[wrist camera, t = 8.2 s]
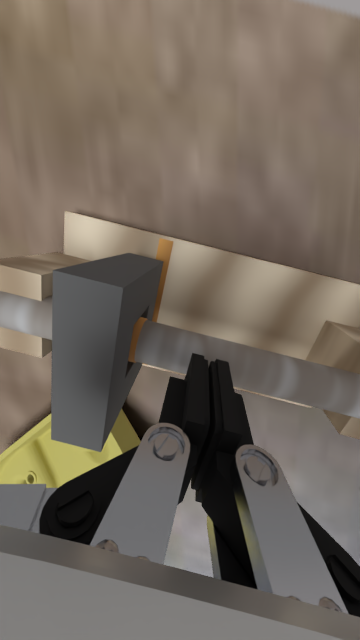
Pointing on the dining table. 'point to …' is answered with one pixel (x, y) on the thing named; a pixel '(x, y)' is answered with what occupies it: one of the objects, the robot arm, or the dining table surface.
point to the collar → (96, 343)
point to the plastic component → (60, 455)
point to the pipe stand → (210, 316)
